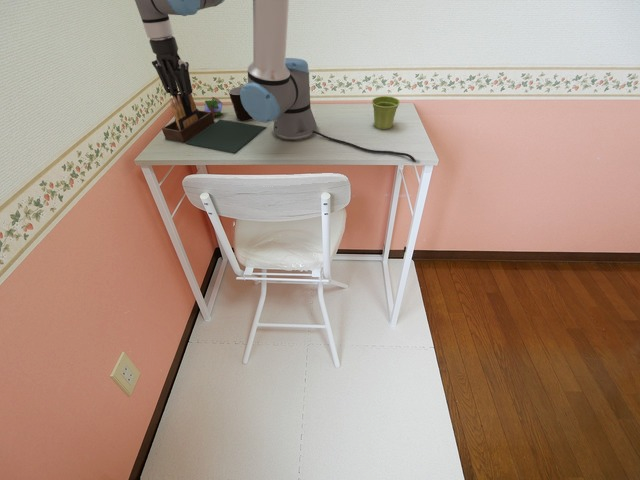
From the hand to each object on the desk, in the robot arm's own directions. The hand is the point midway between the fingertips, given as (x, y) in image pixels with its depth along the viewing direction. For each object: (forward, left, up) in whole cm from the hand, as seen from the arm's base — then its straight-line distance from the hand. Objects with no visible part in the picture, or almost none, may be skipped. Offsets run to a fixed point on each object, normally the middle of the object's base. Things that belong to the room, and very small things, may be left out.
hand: (186, 114), depth 116 cm
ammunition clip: (0, 0, -5) cm, 5 cm away
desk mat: (-15, -1, -6) cm, 16 cm away
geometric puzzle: (0, -14, -6) cm, 15 cm away
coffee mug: (-12, -18, -6) cm, 23 cm away
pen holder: (0, 0, -6) cm, 6 cm away
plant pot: (-64, -26, -6) cm, 70 cm away
